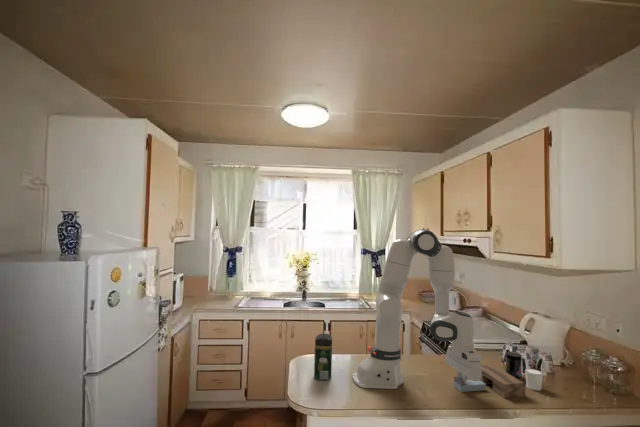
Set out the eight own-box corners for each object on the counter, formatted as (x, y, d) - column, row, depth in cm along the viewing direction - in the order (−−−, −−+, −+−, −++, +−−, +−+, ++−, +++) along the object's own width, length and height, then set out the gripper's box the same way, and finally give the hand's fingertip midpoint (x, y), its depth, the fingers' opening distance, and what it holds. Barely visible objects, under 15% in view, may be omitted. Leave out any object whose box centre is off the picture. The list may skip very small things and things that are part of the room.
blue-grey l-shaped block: (461, 391, 148) (461, 381, 148) (454, 386, 153) (454, 376, 153) (485, 390, 150) (485, 379, 150) (478, 384, 155) (478, 375, 155)
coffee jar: (314, 371, 163) (316, 331, 164) (331, 373, 163) (332, 332, 164) (312, 380, 154) (314, 337, 155) (330, 381, 153) (332, 338, 154)
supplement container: (515, 380, 162) (515, 357, 162) (502, 374, 168) (502, 352, 169) (524, 378, 165) (525, 355, 165) (511, 372, 171) (511, 351, 171)
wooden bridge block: (504, 398, 143) (504, 384, 144) (473, 377, 163) (473, 365, 163) (525, 396, 146) (525, 383, 146) (491, 376, 165) (492, 364, 165)
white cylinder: (543, 387, 156) (543, 371, 156) (542, 392, 150) (542, 375, 150) (525, 382, 159) (525, 367, 160) (524, 388, 154) (524, 371, 154)
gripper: (442, 342, 161) (442, 373, 160) (471, 358, 141) (470, 393, 140) (454, 342, 162) (454, 372, 162) (484, 358, 142) (484, 392, 142)
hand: (462, 382), depth 151 cm, fingers closed, pressing on blue-grey l-shaped block
